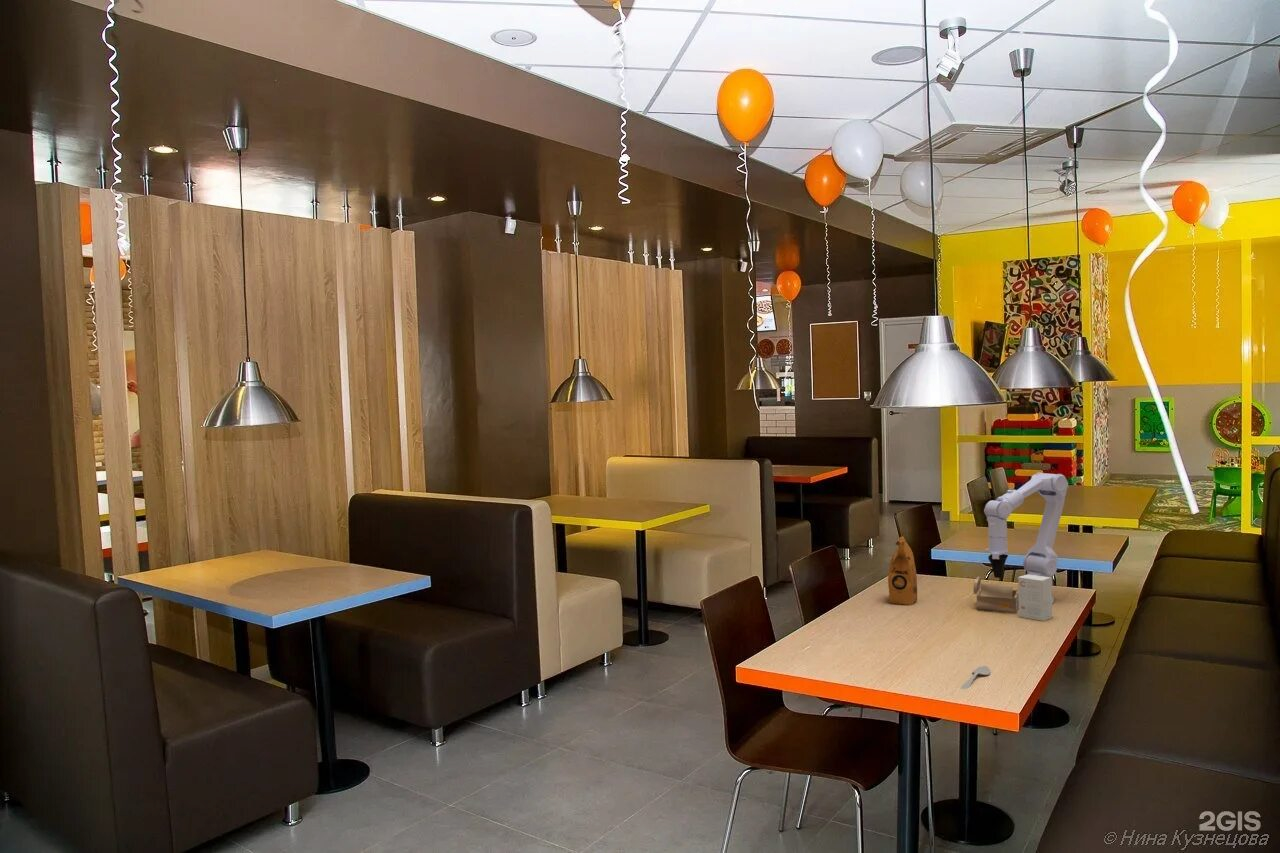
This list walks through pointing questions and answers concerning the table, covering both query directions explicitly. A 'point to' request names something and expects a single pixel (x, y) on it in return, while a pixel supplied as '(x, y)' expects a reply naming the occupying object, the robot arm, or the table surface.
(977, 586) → the side flap
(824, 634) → the table surface
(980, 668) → the spoon
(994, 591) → the front flap
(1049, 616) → the small box
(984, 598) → the carton
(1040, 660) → the table surface
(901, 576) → the coffee package
